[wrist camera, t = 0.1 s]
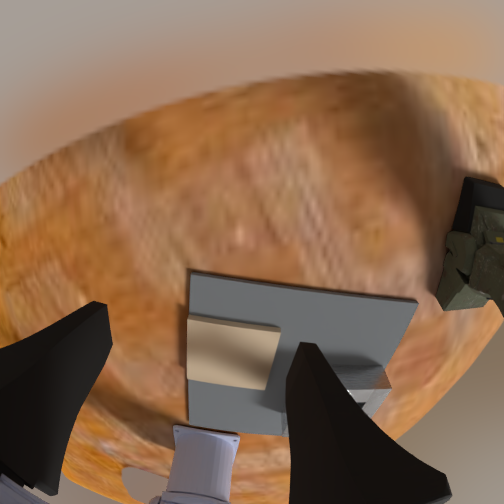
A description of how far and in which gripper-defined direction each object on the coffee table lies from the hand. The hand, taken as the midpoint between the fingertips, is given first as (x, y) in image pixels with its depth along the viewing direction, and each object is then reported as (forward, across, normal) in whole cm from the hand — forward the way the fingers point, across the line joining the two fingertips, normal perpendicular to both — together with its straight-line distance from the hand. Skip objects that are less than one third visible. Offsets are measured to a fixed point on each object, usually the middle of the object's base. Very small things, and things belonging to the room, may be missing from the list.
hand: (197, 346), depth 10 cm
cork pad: (+10, -2, +10) cm, 14 cm away
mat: (+10, -7, +12) cm, 17 cm away
